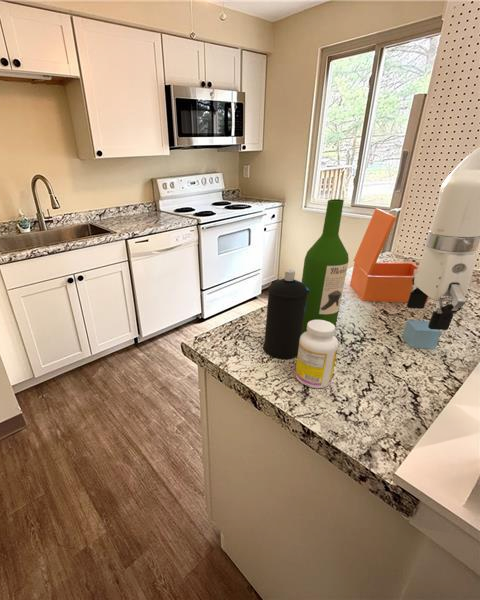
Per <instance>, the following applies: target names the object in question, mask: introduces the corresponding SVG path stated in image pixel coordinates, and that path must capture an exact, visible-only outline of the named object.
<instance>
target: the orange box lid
mask: <svg viewBox="0 0 480 600" xmlns="http://www.w3.org/2000/svg"><path fill="white" fill-rule="evenodd" d="M370 218H371V219H370V221H369V223H368V226H367V228H366V230H365V233H364V235H363V238H362V240H361V242H360V245H359V247H358V249H357V252H356V254H355V256H354V259H353V262H354V263H356V264H357V265H358V266H359V267H360V268H361V269H362V270H363V271H364V272H365V273H366V274H367V275H371V272H372V270H373V268H374V266H375V264H376V262H378V260H379V258H380V255H381V253H382V250H383V249H384V246H385V244H386V242H387V240H388V237H389V236H390V234H391V231H392V230H393V227H394V224H395V223H396V220H397V218H398V217H397V216H396V215H393V214H391V213H388V212H386V211H384V210H382V209H381V208H375V209H374V211H373V213H372V216H371V217H370Z"/></svg>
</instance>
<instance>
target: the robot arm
mask: <svg viewBox="0 0 480 600" xmlns="http://www.w3.org/2000/svg"><path fill="white" fill-rule="evenodd" d="M438 198H439V200H438V202H437V206H436V210H435V212H434V216H433V219H432V222H431V226H430V229H429V231H428V234H427V238H426V241H425V244H424V251H423V254H422V256H421V258H420V261H419V263H418V268H417V269H414V278H413V280H412V282H413V286H412V287H411V291H413V292H411V293H410V297H409V300H408V303H407V302H406V307H407V309H419V310H422V309H424V308H425V306H426V304H427V303H426V300H427V297H428V296H429V297H428V298H430V299H432V301H435V302H434V303H435V310H433V312H432V314H431V317H430V320H429V321H430V322H429V325H428V327H429V328H430V329H436V330H441V331H447V330H448V329H449V328H450V325H451V323H452V320H453V318H454V315H457V313H458V312H460V311H461V309H462V308H463V306H464V305H465V304H467V298H466V296H467V293H468V289H469V286H470V283H471V281H472V277H473V273H474V269H475V268H474V267H475V265H476V254H475V253H476V252H477V249H478V248H479V245H480V146H478V147H477V148H476V149H474V150H473V151H471V152H470V153H469V154H467V156H466V157H465V158H464V159H463V160H462V161H460V163H459V164H458V165H457V166H456V167H455V168H454V169H453V170H452V171H451V173H449V175H448V176H447V177H446V179H445V180H444V181H443V183H442V185H441V186H440V188H439V192H438ZM427 301H428V300H427ZM443 303H448V304H446V305H443Z"/></svg>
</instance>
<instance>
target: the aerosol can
mask: <svg viewBox="0 0 480 600" xmlns="http://www.w3.org/2000/svg"><path fill="white" fill-rule="evenodd" d="M295 275H296V271H295V270H294V269H285V270H284V278H280V279H277V280H275V281H274V282H272V283H270V284H269V285H268V286H267V291H268V296H267V307H266V308H267V309H266V320H265V332H264V343H263V344H262V349H263V351H264V352H265V353H266V354H267V355H269V356H270V357H273V358H276V359H280V360H291V359H295V358H297V356H298V349H299V341H300V337H301V334H302V327H303V320H304V313H305V306H306V300H307V295H308V293H309V289H308V288H307V287H306V286H305V285H304V284H303V283H302V281H299V280H297V279H295V278H296V277H295Z"/></svg>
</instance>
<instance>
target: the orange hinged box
mask: <svg viewBox="0 0 480 600" xmlns="http://www.w3.org/2000/svg"><path fill="white" fill-rule="evenodd" d="M418 266H419V264H416V263H415V262H413V261H411V262H409V261H407V262H406V261H405V262H404V261H401V262H400V261H398V262H397V261H395V262H394V261H392V262H391V261H389V262H388V261H383V262H379V261H377V262H376V264H375V266H374V268H373V270H372V272H371V275H367V274H366V273H365V272H364V271H363V270H362V269H361V268H360V267H359V266H358V265H357V264H356V263H355V262H354V263H353V268H352V272H351V277H350V283H349V286H351V288H352V289H353V291H354V292H355V293H356V294H357V296H358V297H359V298H360V300H361V301H362V302H375V303H376V302H380V303H406V304H407V303H408V300H409V297H410V293H411V292H413V291H411V287H412V286H413V282H412V280H413V278H414V269H417V268H418ZM429 298H430V297H429V296H428V297H427V300H426V303H425V304H427V303H428V300H429Z"/></svg>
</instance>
